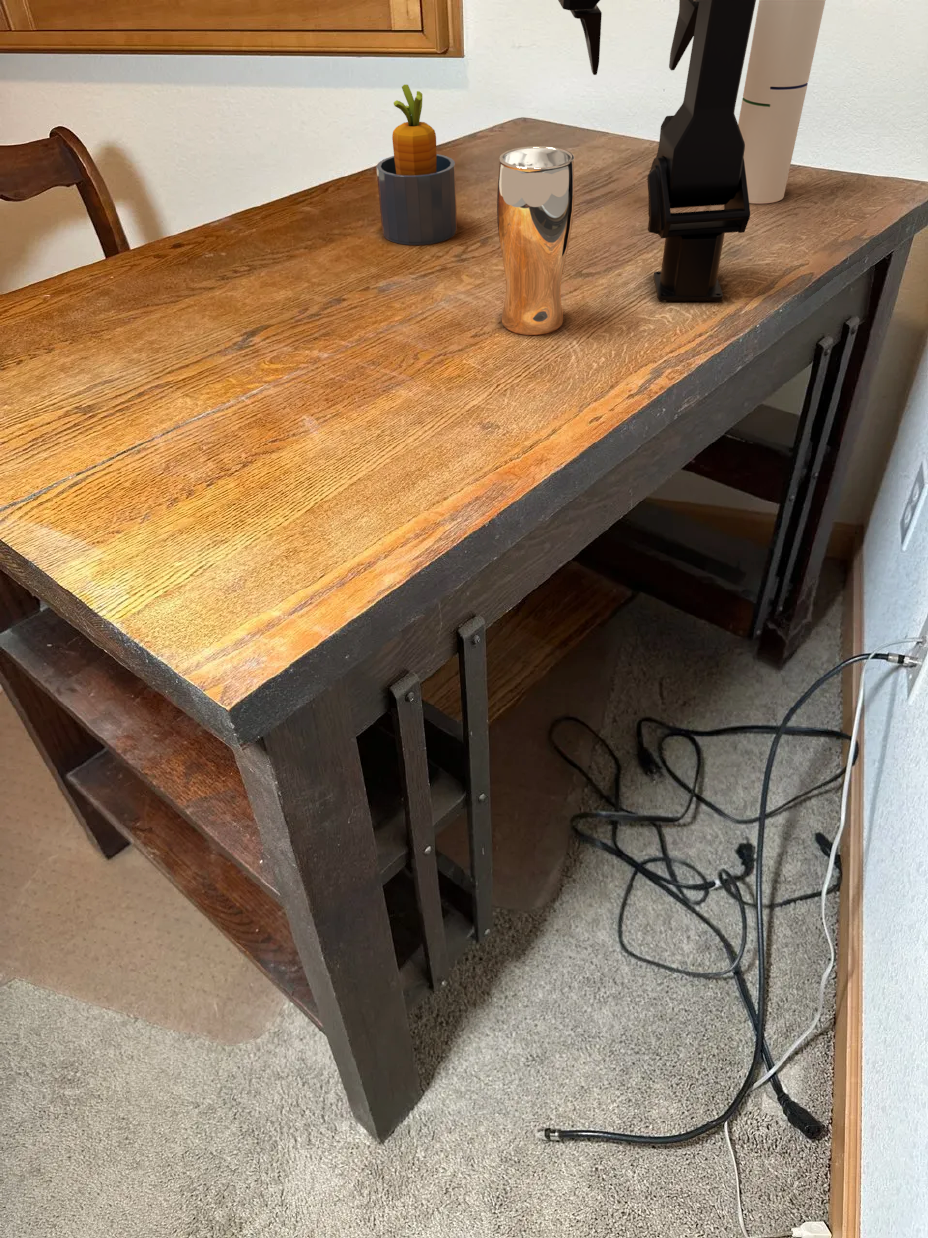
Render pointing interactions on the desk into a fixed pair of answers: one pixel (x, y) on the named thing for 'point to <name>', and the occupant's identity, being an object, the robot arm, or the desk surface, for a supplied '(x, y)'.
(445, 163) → the cup
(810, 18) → the cylindrical container
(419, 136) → the carrot
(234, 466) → the desk surface
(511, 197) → the beer glass
